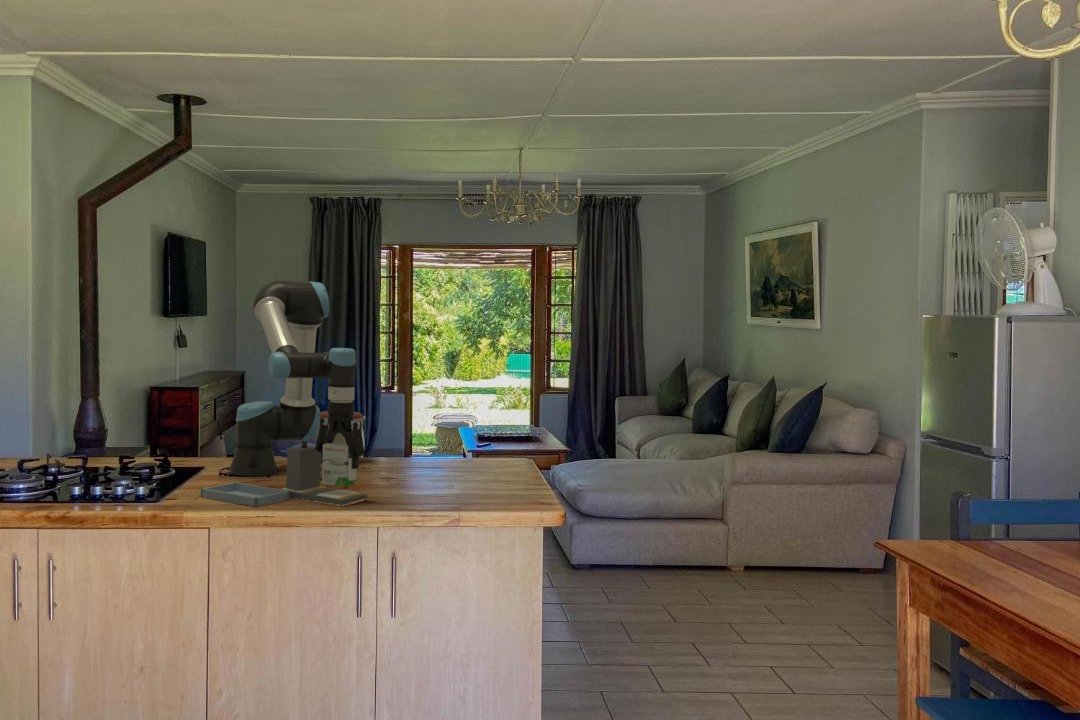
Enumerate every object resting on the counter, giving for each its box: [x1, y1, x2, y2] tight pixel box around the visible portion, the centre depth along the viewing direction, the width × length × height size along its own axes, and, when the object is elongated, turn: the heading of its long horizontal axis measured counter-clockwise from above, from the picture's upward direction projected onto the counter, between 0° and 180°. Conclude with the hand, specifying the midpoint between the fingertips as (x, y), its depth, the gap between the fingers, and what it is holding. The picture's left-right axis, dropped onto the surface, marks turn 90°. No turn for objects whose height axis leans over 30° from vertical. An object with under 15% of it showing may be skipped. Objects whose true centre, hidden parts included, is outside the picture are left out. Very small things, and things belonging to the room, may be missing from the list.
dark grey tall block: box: [285, 440, 321, 491], centre depth 307 cm, size 5×9×14 cm, turn 151°
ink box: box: [321, 443, 356, 487], centre depth 300 cm, size 9×5×12 cm, turn 71°
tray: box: [200, 481, 291, 508], centre depth 300 cm, size 22×14×2 cm, turn 61°
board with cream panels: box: [279, 485, 368, 505], centre depth 304 cm, size 24×11×2 cm, turn 61°
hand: (338, 477), depth 301 cm, fingers closed on ink box, 9 cm apart
